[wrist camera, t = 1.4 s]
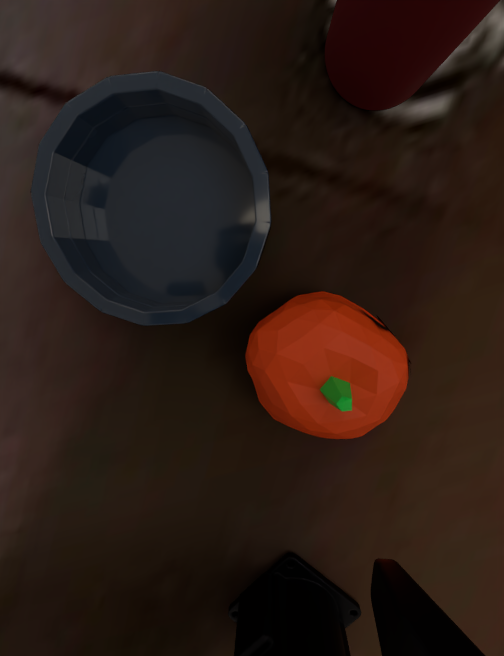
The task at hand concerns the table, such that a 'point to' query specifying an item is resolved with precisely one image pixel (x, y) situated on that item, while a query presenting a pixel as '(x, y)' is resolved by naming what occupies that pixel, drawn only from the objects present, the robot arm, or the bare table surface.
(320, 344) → the pumpkin
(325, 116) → the table surface
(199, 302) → the blue round dish
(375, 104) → the candle
